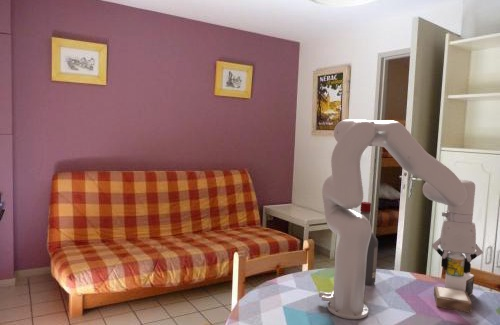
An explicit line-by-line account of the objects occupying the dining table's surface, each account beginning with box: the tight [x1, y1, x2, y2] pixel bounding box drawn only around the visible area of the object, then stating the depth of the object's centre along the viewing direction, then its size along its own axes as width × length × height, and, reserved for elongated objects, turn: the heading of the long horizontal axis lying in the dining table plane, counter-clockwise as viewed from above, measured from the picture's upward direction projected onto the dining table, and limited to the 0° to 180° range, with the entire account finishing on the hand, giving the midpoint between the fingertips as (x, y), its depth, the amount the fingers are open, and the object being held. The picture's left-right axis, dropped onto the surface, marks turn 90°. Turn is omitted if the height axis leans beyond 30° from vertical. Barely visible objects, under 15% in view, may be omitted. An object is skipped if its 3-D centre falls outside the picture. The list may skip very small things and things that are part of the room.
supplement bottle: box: [445, 252, 466, 279], centre depth 129 cm, size 5×5×10 cm
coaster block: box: [433, 285, 472, 314], centre depth 131 cm, size 10×10×3 cm
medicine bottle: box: [444, 263, 475, 297], centre depth 138 cm, size 7×7×12 cm
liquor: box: [360, 201, 379, 287], centre depth 145 cm, size 9×9×30 cm
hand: (454, 270), depth 130 cm, fingers closed on supplement bottle, 5 cm apart
